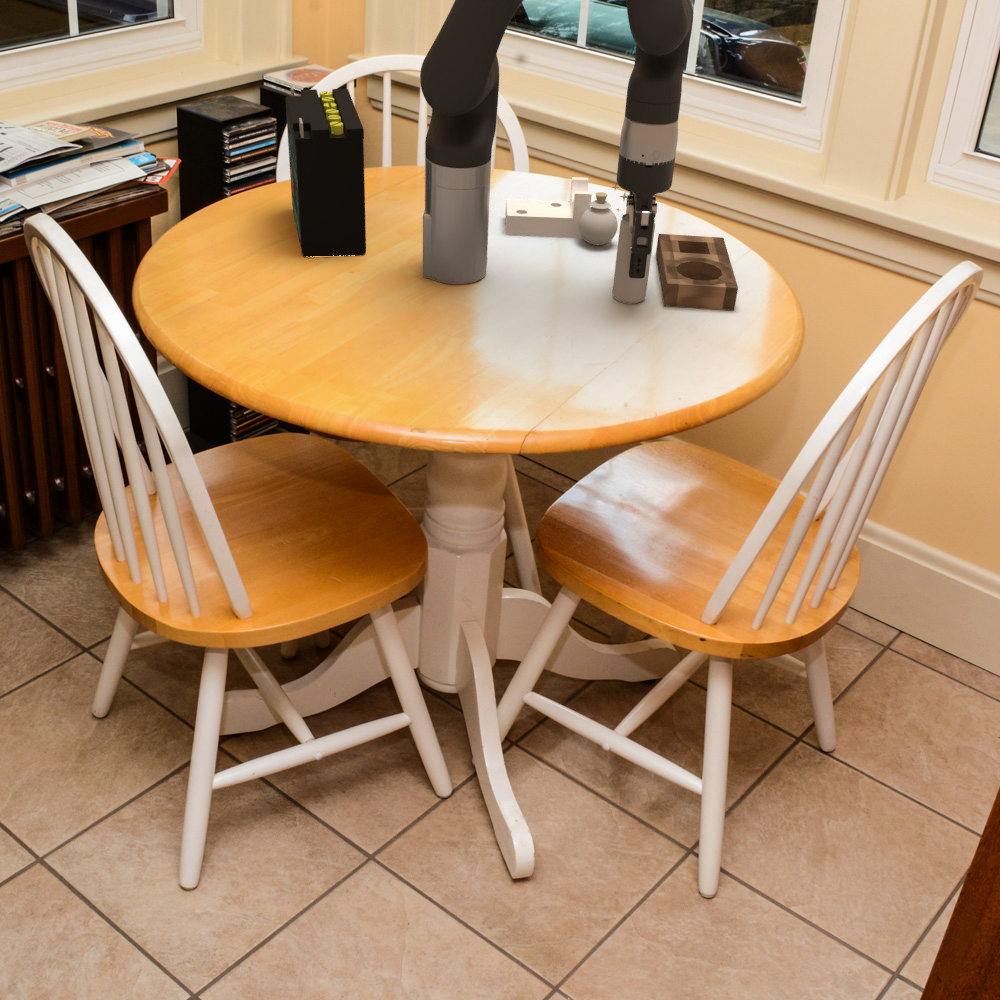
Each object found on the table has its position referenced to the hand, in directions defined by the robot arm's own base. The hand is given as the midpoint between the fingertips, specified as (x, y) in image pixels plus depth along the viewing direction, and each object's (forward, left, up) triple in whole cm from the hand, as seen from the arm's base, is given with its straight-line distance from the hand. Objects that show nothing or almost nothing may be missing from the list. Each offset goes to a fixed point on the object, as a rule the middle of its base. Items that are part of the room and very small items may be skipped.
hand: (634, 264), depth 159 cm
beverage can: (0, 0, -5) cm, 5 cm away
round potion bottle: (-4, +19, -5) cm, 20 cm away
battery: (-47, +17, -6) cm, 50 cm away
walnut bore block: (+10, +7, -5) cm, 13 cm away
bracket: (-13, +24, -6) cm, 28 cm away
